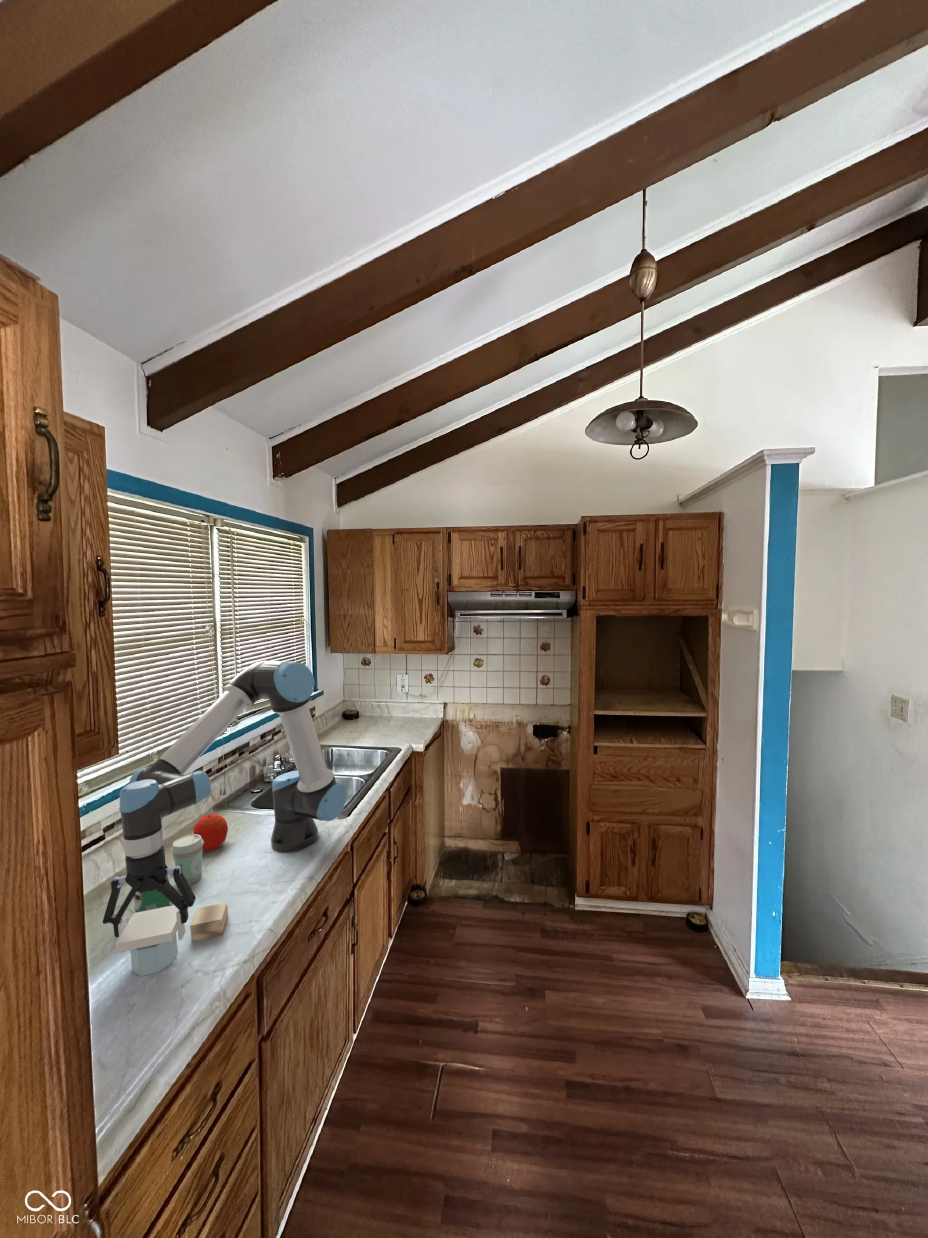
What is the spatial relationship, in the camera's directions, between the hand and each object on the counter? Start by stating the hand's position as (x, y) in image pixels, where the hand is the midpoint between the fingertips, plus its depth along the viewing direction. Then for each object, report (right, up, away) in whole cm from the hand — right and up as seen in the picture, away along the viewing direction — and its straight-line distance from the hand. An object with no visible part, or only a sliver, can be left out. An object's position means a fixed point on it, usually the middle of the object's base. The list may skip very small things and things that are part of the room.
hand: (153, 942), depth 115 cm
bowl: (0, -5, 0) cm, 5 cm away
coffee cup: (-10, -3, +34) cm, 35 cm away
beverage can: (-12, -4, +20) cm, 24 cm away
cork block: (+8, -4, +11) cm, 14 cm away
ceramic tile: (0, +3, 0) cm, 3 cm away
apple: (-13, -2, +53) cm, 54 cm away
